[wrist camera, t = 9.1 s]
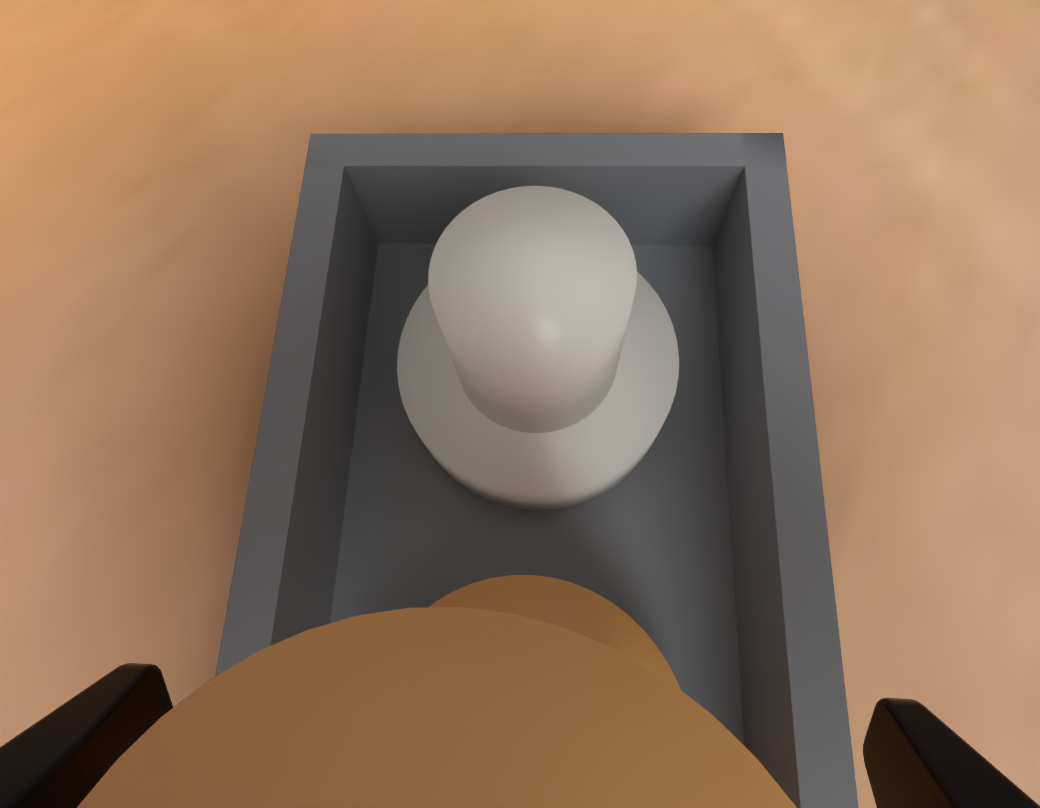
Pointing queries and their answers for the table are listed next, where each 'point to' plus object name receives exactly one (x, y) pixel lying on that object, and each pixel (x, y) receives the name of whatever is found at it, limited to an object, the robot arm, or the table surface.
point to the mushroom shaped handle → (447, 717)
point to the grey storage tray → (557, 411)
